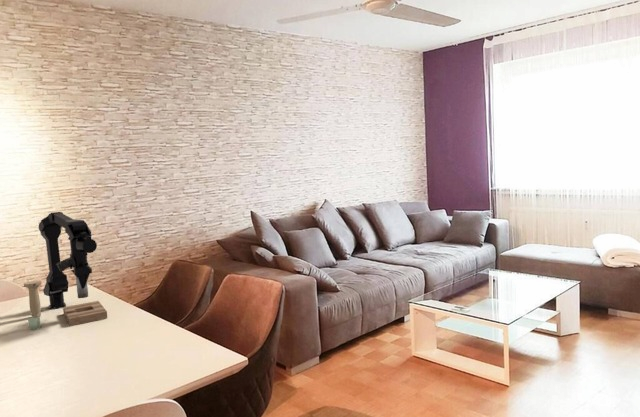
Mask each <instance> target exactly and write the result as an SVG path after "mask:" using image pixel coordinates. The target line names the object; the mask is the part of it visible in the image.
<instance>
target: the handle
mask: <svg viewBox="0 0 640 417" xmlns="http://www.w3.org/2000/svg"><path fill="white" fill-rule="evenodd" d="M41 285H42V280H33V281H26V282H24V283H23V287H24V288H27V289H28V298H29V299H28V300H29V301H28V302H29V303H28V304H29V311H30V314H31V315H30V316H31V318H32V317H41V314H42V313H41V311H42V310H41V308H42V306H41V299H40V295H39V294H40V293H39V286H41Z"/></svg>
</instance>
